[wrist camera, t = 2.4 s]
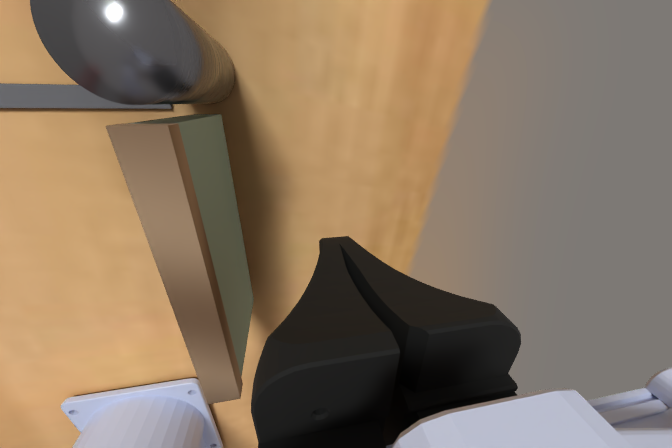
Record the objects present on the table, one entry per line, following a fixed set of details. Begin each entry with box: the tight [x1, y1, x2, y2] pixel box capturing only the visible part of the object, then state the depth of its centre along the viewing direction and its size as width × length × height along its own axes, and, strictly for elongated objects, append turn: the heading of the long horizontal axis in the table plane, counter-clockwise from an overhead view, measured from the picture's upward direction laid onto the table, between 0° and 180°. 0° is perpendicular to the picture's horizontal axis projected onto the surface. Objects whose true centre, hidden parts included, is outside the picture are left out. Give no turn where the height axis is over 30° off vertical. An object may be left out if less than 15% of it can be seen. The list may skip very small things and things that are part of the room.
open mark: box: [0, 84, 172, 109], centre depth 9 cm, size 1×10×1 cm, turn 89°
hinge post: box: [30, 0, 235, 105], centre depth 7 cm, size 2×2×6 cm
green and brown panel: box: [106, 114, 254, 404], centre depth 10 cm, size 10×1×6 cm, turn 0°
